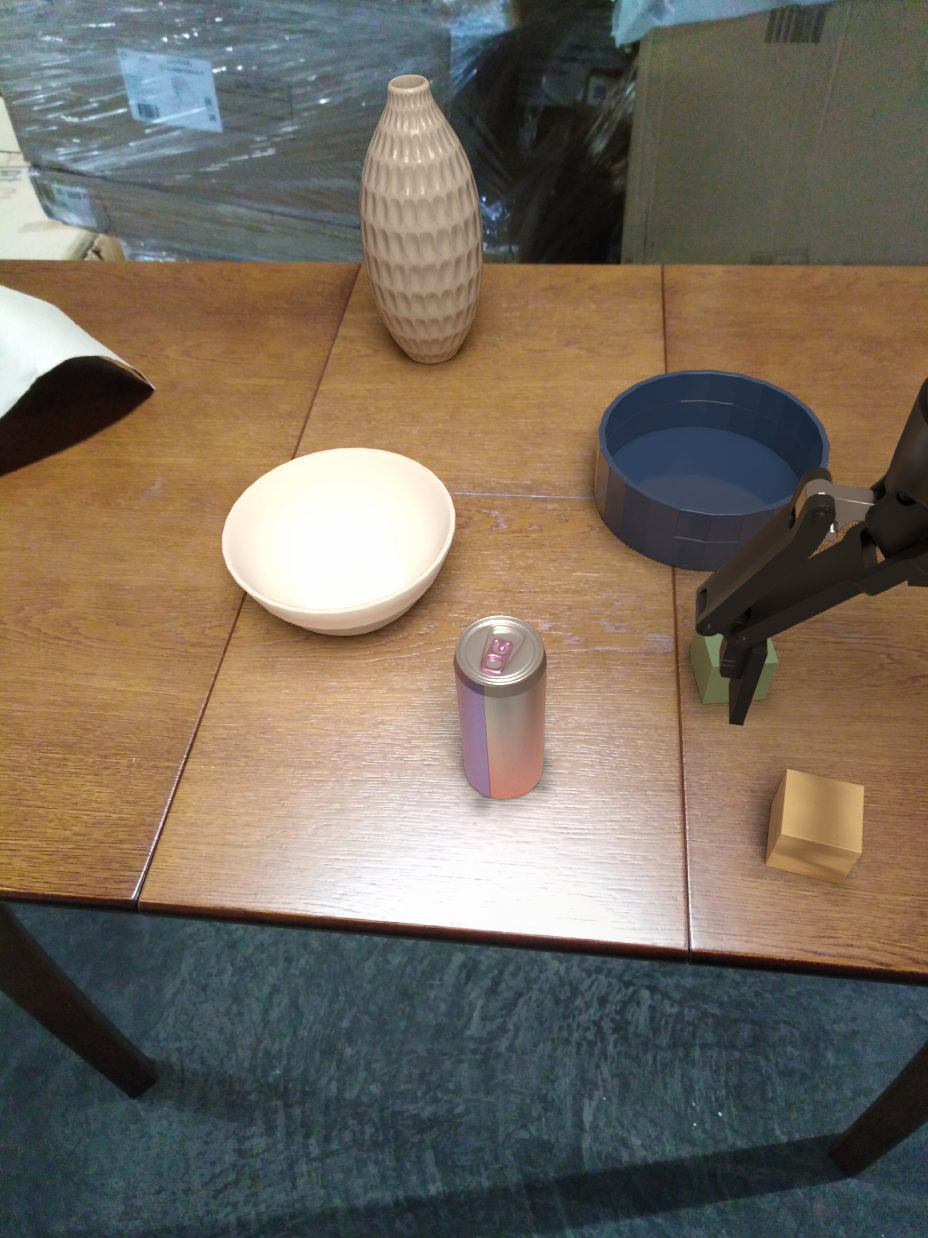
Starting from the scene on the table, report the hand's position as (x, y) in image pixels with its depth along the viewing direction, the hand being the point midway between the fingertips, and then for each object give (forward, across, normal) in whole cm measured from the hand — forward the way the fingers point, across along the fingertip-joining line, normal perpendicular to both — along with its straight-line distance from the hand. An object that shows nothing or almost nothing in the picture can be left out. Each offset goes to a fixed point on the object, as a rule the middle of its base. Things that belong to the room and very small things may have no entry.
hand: (863, 720), depth 49 cm
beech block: (+17, -1, -1) cm, 17 cm away
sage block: (+17, +4, -15) cm, 23 cm away
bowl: (+18, +37, -20) cm, 45 cm away
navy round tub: (+17, +7, -36) cm, 41 cm away
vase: (+18, +37, -57) cm, 71 cm away
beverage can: (+18, +21, -4) cm, 27 cm away
